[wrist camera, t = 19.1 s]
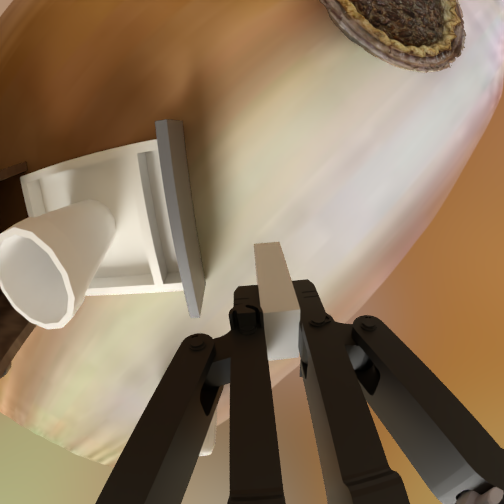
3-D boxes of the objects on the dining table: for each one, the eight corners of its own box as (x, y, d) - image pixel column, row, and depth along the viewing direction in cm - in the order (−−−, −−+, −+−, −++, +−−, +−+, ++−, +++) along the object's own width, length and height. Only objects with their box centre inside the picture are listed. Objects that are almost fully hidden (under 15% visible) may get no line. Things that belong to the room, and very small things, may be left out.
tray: (71, 291, 34) (50, 319, 28) (35, 159, 26) (1, 170, 20) (205, 283, 34) (199, 317, 28) (182, 120, 26) (166, 119, 20)
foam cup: (113, 175, 27) (42, 213, 15) (139, 252, 31) (93, 324, 19) (52, 200, 27) (-20, 243, 15) (78, 267, 31) (25, 331, 19)
